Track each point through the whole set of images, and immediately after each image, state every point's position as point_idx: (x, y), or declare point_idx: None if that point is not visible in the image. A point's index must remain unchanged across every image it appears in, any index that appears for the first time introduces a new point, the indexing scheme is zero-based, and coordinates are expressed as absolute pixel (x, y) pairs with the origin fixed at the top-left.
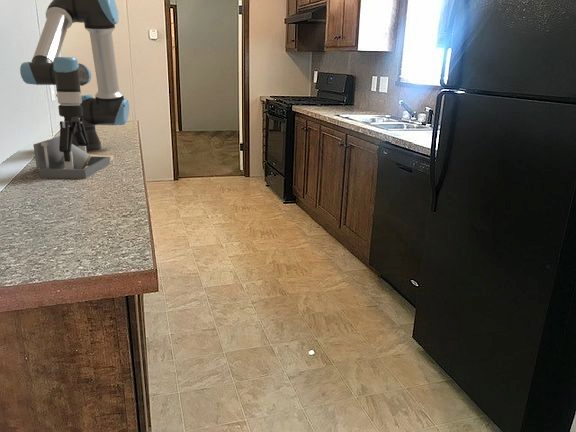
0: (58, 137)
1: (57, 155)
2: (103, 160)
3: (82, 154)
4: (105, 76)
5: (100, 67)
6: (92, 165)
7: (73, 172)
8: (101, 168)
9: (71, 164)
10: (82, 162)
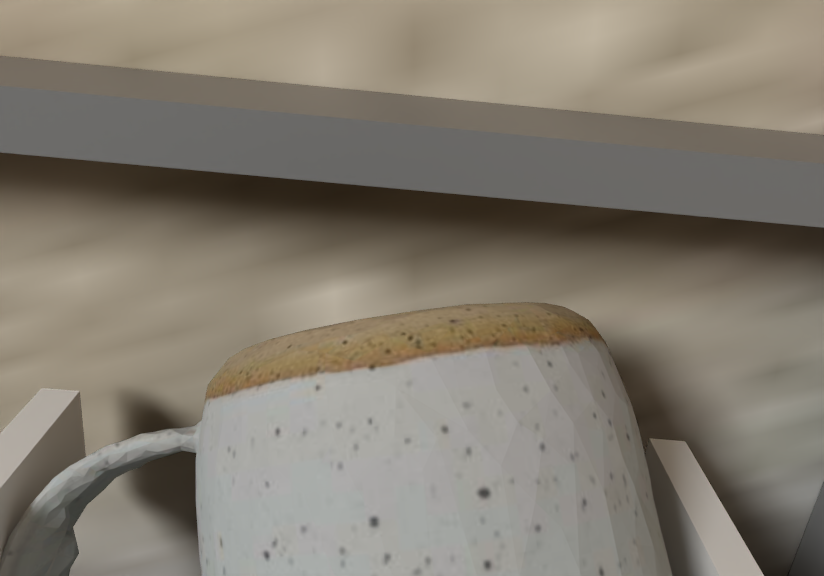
0: None
1: None
2: (7, 84)
3: (578, 500)
4: None
5: None
6: (687, 164)
7: None
8: (229, 80)
9: (724, 527)
10: (623, 390)
